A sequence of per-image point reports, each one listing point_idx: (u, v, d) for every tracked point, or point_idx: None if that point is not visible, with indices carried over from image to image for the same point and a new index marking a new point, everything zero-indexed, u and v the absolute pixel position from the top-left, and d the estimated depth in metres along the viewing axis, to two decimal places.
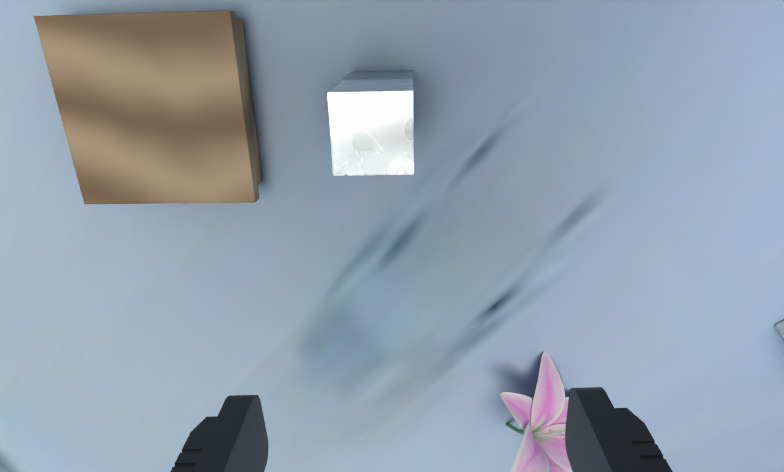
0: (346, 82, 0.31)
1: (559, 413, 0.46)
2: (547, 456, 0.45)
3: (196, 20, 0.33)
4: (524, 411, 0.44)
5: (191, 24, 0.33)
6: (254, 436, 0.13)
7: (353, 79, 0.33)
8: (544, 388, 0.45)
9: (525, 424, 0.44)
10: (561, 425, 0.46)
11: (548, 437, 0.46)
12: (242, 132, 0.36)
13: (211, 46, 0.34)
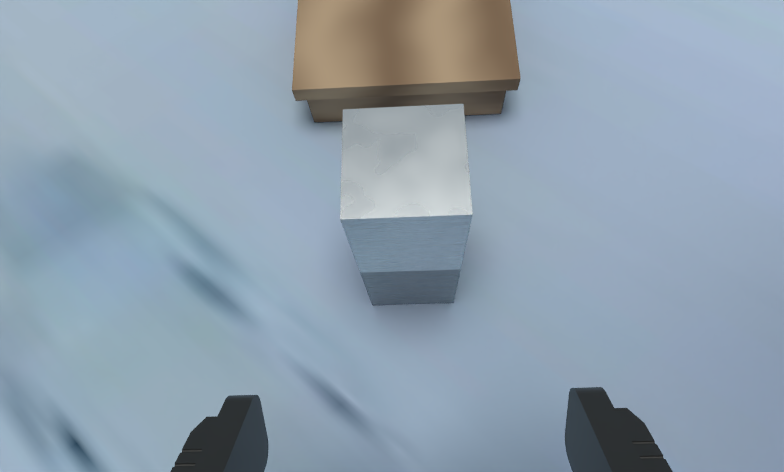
0: None
1: None
2: None
3: (507, 47, 0.30)
4: None
5: (502, 42, 0.30)
6: (253, 436, 0.13)
7: None
8: None
9: None
10: None
11: None
12: (381, 82, 0.29)
13: (480, 58, 0.30)
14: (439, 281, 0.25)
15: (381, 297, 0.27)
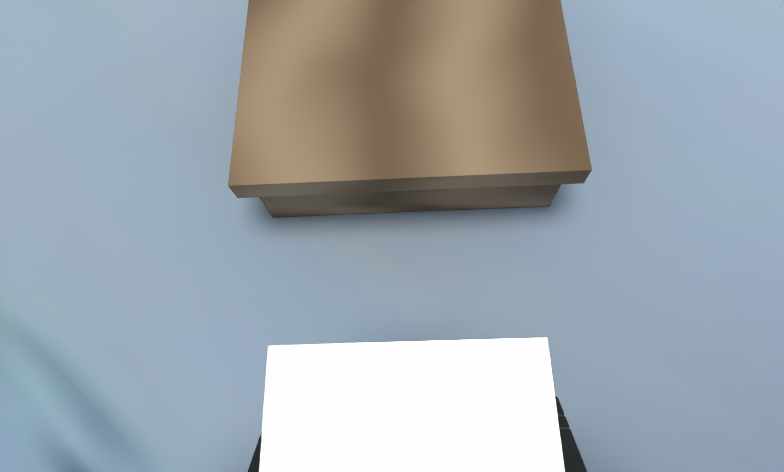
0: None
1: None
2: None
3: (567, 116, 0.19)
4: None
5: (559, 108, 0.19)
6: None
7: None
8: None
9: None
10: None
11: None
12: (369, 173, 0.19)
13: (525, 135, 0.19)
14: None
15: None
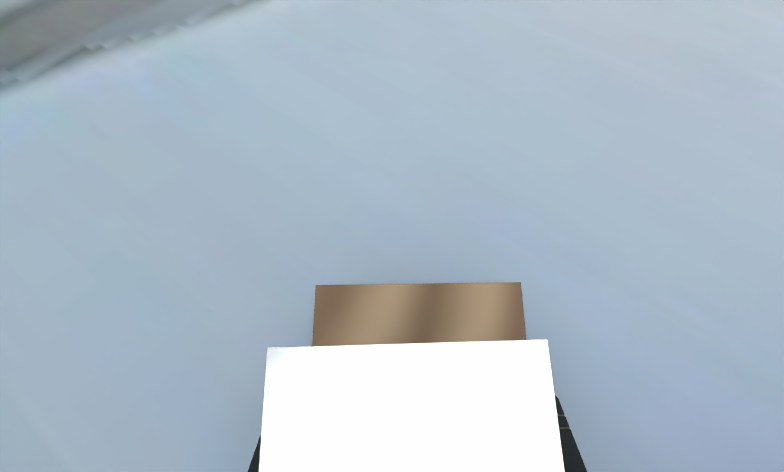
0: None
1: None
2: None
3: None
4: None
5: None
6: None
7: None
8: None
9: None
10: None
11: None
12: None
13: None
14: None
15: None
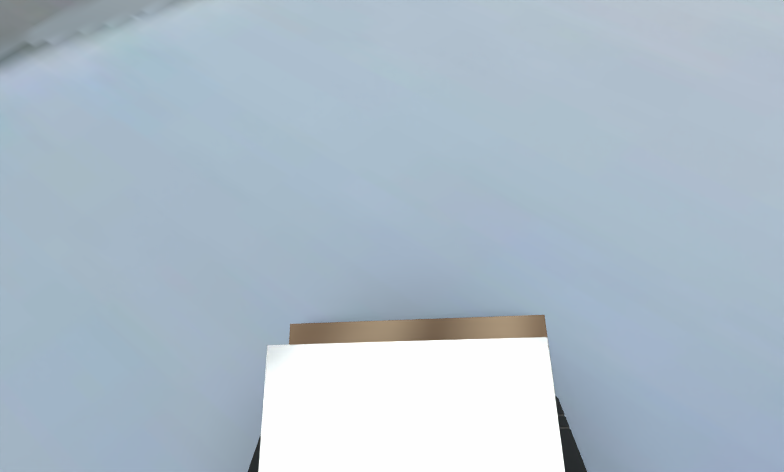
0: None
1: None
2: None
3: None
4: None
5: None
6: None
7: None
8: None
9: None
10: None
11: None
12: None
13: None
14: None
15: None
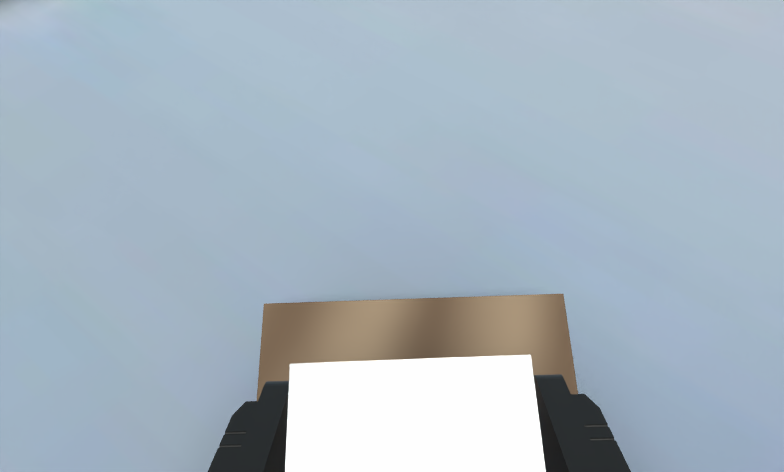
0: None
1: None
2: None
3: None
4: None
5: None
6: None
7: None
8: None
9: None
10: None
11: None
12: None
13: None
14: None
15: None
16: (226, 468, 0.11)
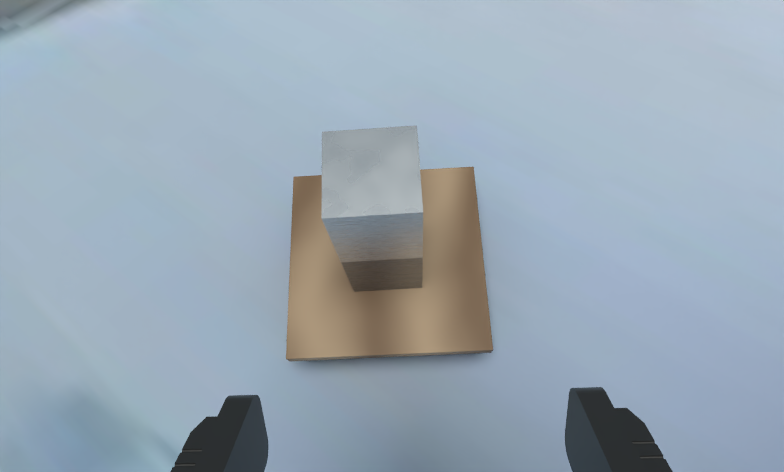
0: None
1: None
2: None
3: (480, 314, 0.33)
4: None
5: (477, 309, 0.33)
6: (253, 436, 0.13)
7: None
8: None
9: None
10: None
11: None
12: (367, 351, 0.32)
13: (456, 327, 0.33)
14: (407, 268, 0.30)
15: (360, 284, 0.32)
16: None
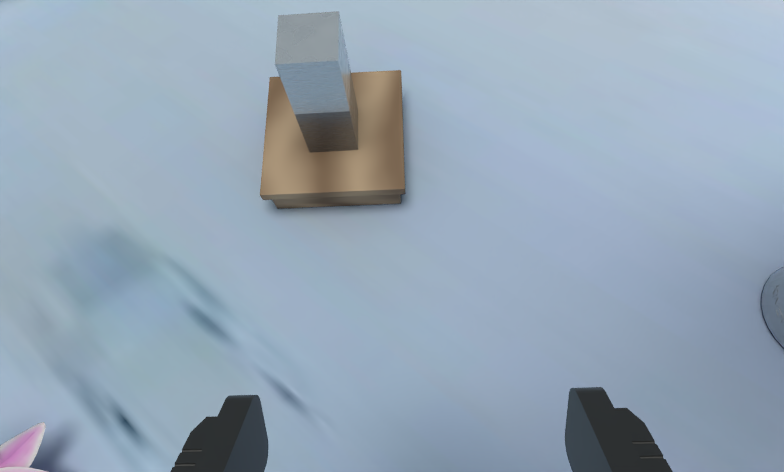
0: (347, 60, 0.42)
1: None
2: None
3: (398, 166, 0.46)
4: (14, 456, 0.39)
5: (395, 163, 0.47)
6: (253, 436, 0.13)
7: (350, 75, 0.43)
8: None
9: None
10: None
11: None
12: (317, 190, 0.46)
13: (380, 174, 0.46)
14: (341, 123, 0.43)
15: (312, 142, 0.46)
16: None
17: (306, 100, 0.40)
